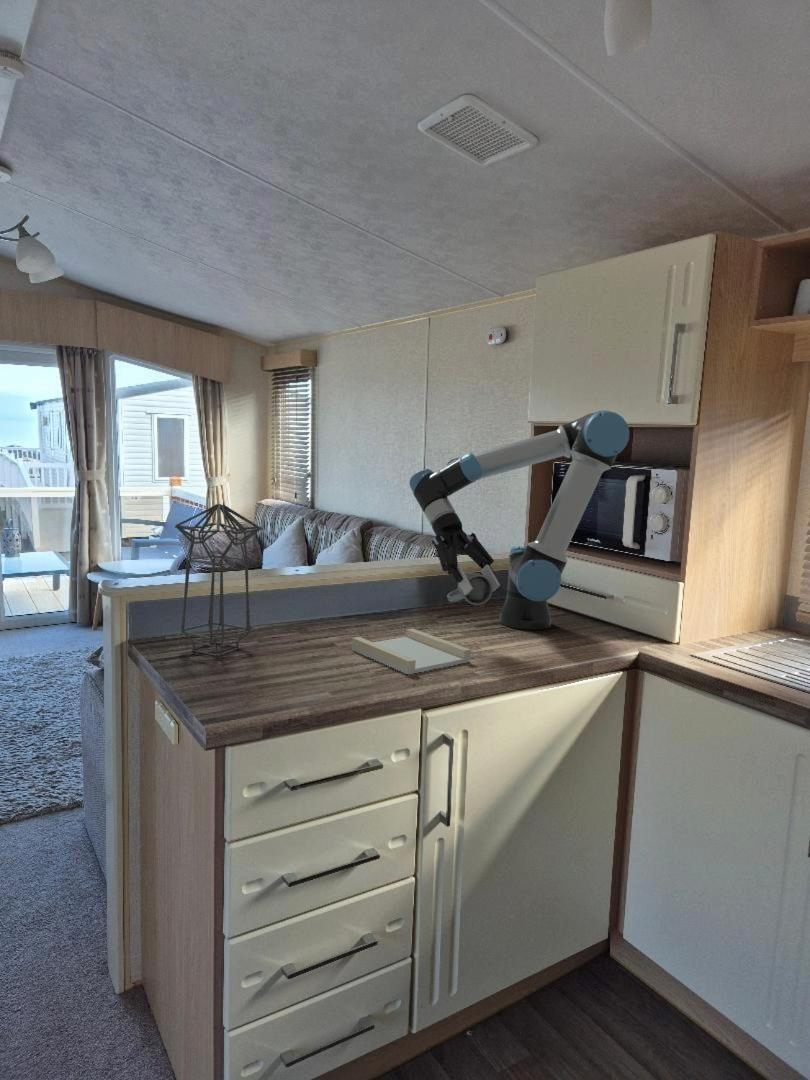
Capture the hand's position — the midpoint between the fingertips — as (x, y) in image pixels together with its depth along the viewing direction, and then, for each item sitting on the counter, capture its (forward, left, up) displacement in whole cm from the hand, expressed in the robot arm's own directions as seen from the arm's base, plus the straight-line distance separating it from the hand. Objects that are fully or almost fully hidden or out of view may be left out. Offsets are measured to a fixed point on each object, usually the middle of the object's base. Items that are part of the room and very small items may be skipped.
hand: (482, 589), depth 181 cm
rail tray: (+19, -4, -15) cm, 25 cm away
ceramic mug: (+1, -4, -4) cm, 6 cm away
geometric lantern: (+56, -32, -16) cm, 67 cm away
